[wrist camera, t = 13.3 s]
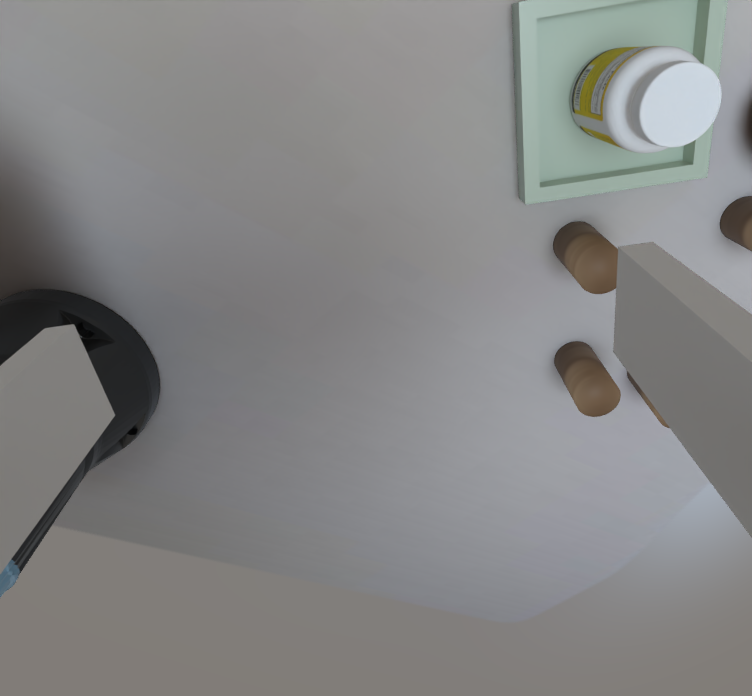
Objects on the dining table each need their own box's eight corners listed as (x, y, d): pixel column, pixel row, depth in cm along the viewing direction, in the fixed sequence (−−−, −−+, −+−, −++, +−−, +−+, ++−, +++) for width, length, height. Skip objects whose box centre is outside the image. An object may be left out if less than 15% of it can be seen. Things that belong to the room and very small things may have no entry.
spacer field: (554, 397, 49) (575, 440, 43) (553, 224, 42) (577, 251, 36) (739, 374, 47) (783, 416, 42) (769, 193, 40) (828, 215, 35)
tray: (518, 197, 41) (525, 204, 39) (511, 4, 35) (518, 2, 33) (691, 171, 40) (707, 177, 38) (713, -32, 34) (731, -37, 32)
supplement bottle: (664, 110, 37) (749, 129, 29) (585, 153, 39) (643, 183, 30) (638, 28, 35) (721, 21, 26) (555, 76, 36) (609, 85, 28)
